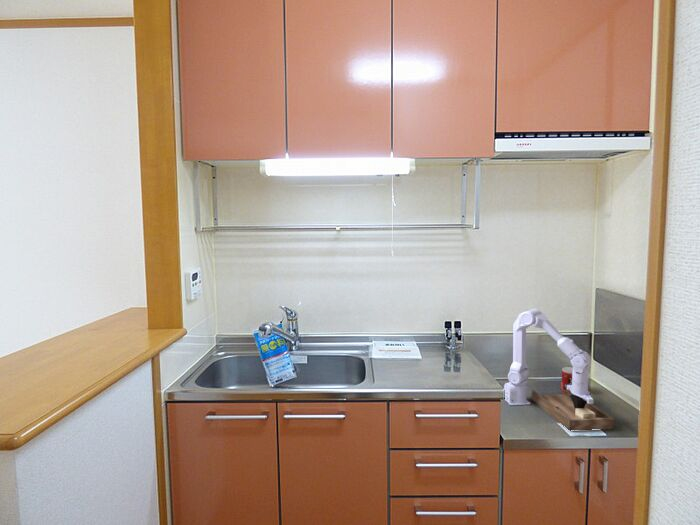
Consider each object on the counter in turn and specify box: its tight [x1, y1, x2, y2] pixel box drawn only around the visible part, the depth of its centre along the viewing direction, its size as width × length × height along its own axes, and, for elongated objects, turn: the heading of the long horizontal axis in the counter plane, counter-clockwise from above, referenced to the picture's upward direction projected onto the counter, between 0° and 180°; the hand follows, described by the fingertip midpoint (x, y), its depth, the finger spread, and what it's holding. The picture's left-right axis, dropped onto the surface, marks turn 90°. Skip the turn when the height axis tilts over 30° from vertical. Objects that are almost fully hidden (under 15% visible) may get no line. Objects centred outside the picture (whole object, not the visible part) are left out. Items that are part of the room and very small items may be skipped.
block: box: [575, 408, 595, 419], centre depth 162 cm, size 5×5×4 cm
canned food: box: [560, 366, 573, 394], centre depth 194 cm, size 8×8×11 cm
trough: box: [531, 390, 615, 431], centre depth 172 cm, size 18×29×4 cm, turn 4°
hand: (578, 413), depth 166 cm, fingers closed
